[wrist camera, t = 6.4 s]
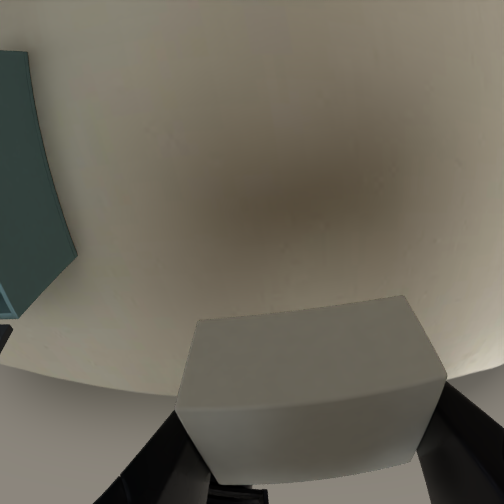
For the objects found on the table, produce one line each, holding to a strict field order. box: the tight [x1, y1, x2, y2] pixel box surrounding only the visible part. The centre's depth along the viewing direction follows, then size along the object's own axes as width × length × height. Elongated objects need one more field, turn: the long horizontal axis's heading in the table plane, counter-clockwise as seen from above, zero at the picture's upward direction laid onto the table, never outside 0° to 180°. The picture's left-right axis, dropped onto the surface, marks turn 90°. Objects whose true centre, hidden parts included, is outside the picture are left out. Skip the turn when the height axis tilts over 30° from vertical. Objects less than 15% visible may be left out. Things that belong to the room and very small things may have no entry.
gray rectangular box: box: [175, 295, 447, 485], centre depth 8 cm, size 4×6×3 cm
